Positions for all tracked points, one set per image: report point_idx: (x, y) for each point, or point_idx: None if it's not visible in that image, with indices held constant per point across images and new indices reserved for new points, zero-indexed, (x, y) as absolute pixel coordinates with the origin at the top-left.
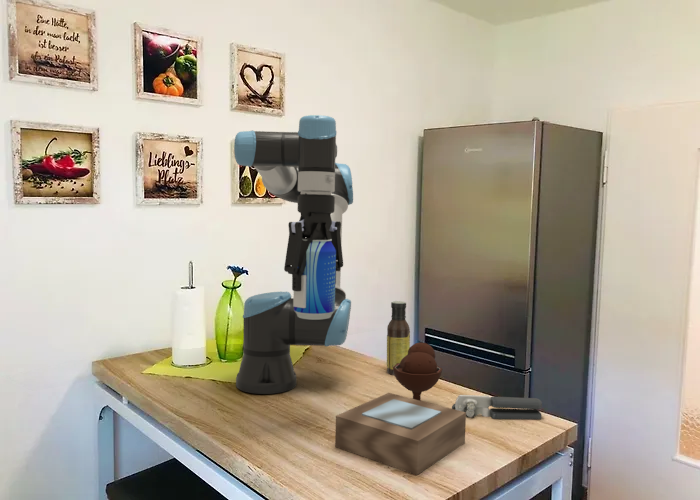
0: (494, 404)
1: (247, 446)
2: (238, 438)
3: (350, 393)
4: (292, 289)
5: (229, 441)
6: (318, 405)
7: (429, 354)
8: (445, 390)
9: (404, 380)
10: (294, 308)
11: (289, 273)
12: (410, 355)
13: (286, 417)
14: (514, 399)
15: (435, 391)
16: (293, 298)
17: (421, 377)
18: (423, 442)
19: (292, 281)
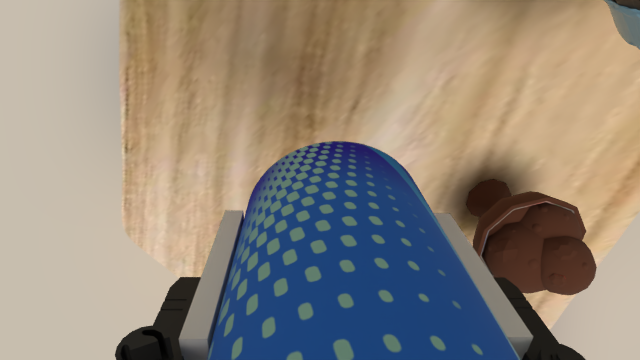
0: None
1: (156, 77)
2: (164, 35)
3: (519, 48)
4: (176, 281)
5: (142, 31)
6: (409, 40)
7: (546, 289)
8: (616, 191)
9: (477, 230)
10: (258, 183)
11: (139, 336)
12: (523, 263)
13: (309, 32)
14: None
15: (603, 180)
16: (217, 232)
17: None
18: None
19: (155, 321)
